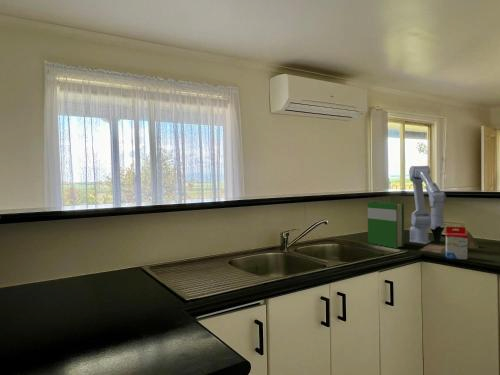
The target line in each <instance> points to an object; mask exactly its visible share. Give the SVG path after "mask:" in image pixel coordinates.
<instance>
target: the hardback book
mask: <svg viewBox="0 0 500 375" xmlns="http://www.w3.org/2000/svg"><path fill="white" fill-rule="evenodd" d="M368 242H369V243H373V244H378V245H383V246H388V247H393V248H392V249H396V248H397V249H398V248H399V247H402V248H403V247H405V203H403V202H390V201H389V202H387V201H369V202H368V201H367V243H368Z"/></svg>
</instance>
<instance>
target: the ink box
mask: <svg viewBox="0 0 500 375" xmlns="http://www.w3.org/2000/svg"><path fill="white" fill-rule="evenodd" d="M465 230H466V227H465V226H446V229H445V246H446V254H445V257H446V259H451V260H468V248H467V243H468V235H467V234H465Z"/></svg>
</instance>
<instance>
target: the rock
mask: <svg viewBox="0 0 500 375" xmlns="http://www.w3.org/2000/svg"><path fill="white" fill-rule="evenodd" d="M465 234H467V235H468V243H467V249H468V248H470V249H479V245H478V242H477V240H476V238H474V236H473V235H472V234H471V233H470V232H469V231H468V230H467V229H465Z"/></svg>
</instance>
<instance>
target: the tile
mask: <svg viewBox="0 0 500 375" xmlns="http://www.w3.org/2000/svg"><path fill="white" fill-rule="evenodd" d="M423 247H424V250H427V251H426V252H429V251H435V252H434V253H437V252H442V251H444V250H446V245H436V244H427V245H425V246H423Z"/></svg>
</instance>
